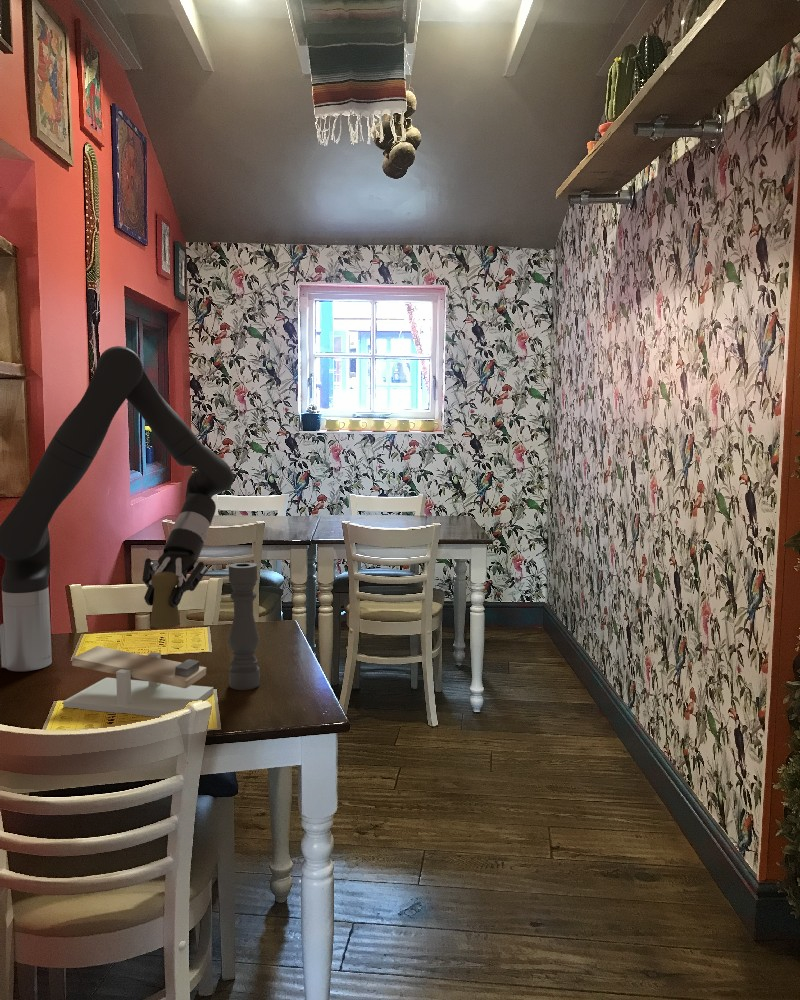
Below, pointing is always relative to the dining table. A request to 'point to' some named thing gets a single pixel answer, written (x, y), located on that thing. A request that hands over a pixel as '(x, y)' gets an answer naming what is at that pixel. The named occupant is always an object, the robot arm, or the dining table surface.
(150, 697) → the beam stand
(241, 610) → the candle holder
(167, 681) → the beam
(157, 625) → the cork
